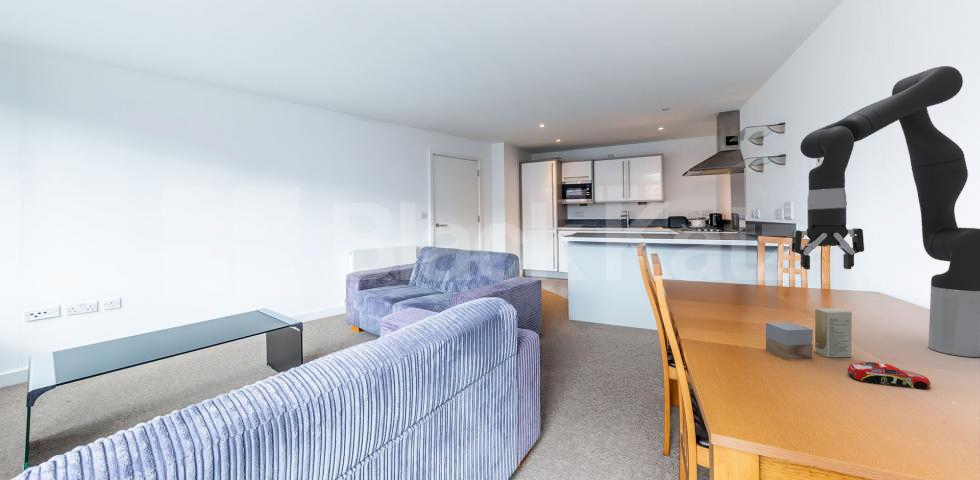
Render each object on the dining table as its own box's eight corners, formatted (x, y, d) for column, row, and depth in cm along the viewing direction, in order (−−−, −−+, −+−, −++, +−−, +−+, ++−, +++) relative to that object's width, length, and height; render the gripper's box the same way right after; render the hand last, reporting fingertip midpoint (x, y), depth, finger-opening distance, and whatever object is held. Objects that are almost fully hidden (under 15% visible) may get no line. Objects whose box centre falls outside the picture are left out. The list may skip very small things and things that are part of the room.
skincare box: (838, 351, 103) (839, 307, 102) (852, 357, 98) (853, 311, 98) (813, 351, 103) (814, 307, 103) (825, 357, 99) (826, 311, 98)
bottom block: (790, 350, 105) (790, 336, 105) (812, 359, 98) (812, 344, 98) (765, 350, 105) (766, 336, 105) (786, 360, 98) (786, 345, 98)
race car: (921, 383, 84) (922, 365, 84) (936, 393, 79) (937, 375, 79) (844, 373, 90) (844, 356, 90) (854, 382, 85) (855, 365, 85)
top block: (789, 335, 105) (790, 321, 105) (812, 344, 98) (812, 329, 98) (765, 336, 105) (765, 322, 105) (786, 345, 98) (787, 330, 98)
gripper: (853, 205, 98) (853, 267, 99) (787, 208, 103) (787, 267, 104) (870, 205, 91) (870, 271, 92) (798, 208, 96) (799, 271, 97)
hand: (826, 269), depth 98 cm, fingers open, 8 cm apart
